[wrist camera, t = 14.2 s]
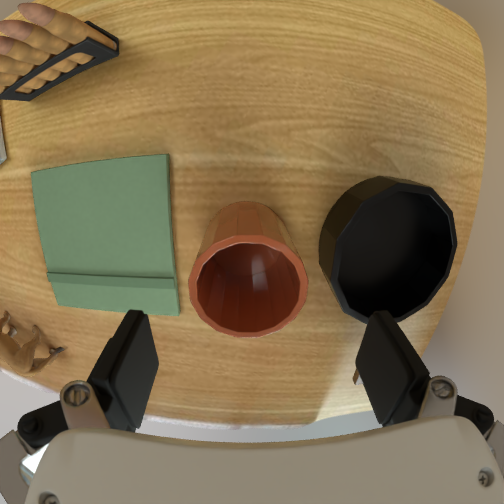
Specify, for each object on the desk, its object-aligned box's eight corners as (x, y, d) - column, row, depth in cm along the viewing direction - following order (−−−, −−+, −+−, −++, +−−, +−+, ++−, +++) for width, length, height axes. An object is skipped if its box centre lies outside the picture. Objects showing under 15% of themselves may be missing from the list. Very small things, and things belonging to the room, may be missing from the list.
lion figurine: (1, 332, 26) (-29, 368, 18) (-10, 303, 24) (-45, 338, 16) (70, 359, 27) (42, 409, 19) (60, 328, 25) (24, 379, 17)
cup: (288, 202, 21) (314, 235, 14) (283, 276, 24) (300, 336, 16) (204, 200, 21) (184, 234, 13) (207, 276, 23) (194, 336, 16)
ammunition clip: (118, 38, 15) (34, -16, 4) (119, 55, 16) (29, 7, 5) (27, 85, 15) (-63, 82, 4) (28, 101, 16) (-66, 104, 5)
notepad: (169, 153, 19) (165, 154, 18) (180, 311, 25) (178, 318, 24) (35, 171, 19) (28, 173, 18) (61, 301, 24) (56, 306, 23)
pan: (440, 185, 21) (467, 194, 17) (394, 352, 28) (407, 375, 25) (325, 169, 20) (343, 175, 16) (300, 363, 28) (306, 391, 24)
